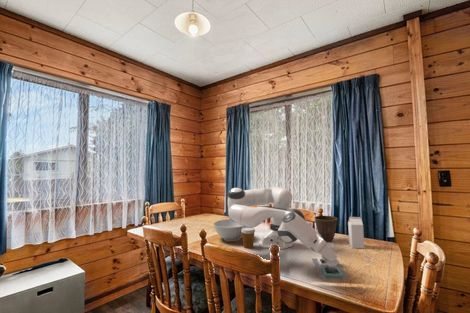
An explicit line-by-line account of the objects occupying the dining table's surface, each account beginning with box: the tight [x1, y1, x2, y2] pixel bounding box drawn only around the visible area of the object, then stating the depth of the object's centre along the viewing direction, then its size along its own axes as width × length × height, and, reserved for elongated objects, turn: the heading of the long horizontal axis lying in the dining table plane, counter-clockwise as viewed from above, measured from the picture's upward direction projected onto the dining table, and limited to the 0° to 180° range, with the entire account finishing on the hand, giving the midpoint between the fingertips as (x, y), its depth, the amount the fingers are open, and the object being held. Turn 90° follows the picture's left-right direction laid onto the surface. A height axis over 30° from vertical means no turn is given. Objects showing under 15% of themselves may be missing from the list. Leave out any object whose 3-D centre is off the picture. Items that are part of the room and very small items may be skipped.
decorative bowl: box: [213, 218, 246, 242], centre depth 173 cm, size 27×27×12 cm
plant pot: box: [314, 215, 338, 243], centre depth 164 cm, size 15×15×16 cm
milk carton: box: [347, 216, 365, 249], centre depth 151 cm, size 7×7×19 cm
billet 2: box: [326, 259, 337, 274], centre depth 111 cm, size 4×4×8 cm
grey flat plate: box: [311, 258, 351, 283], centre depth 117 cm, size 13×23×2 cm, turn 171°
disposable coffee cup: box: [241, 227, 256, 249], centre depth 155 cm, size 10×10×12 cm
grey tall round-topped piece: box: [321, 255, 326, 264], centre depth 122 cm, size 4×4×8 cm
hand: (332, 258), depth 112 cm, fingers open, 8 cm apart
